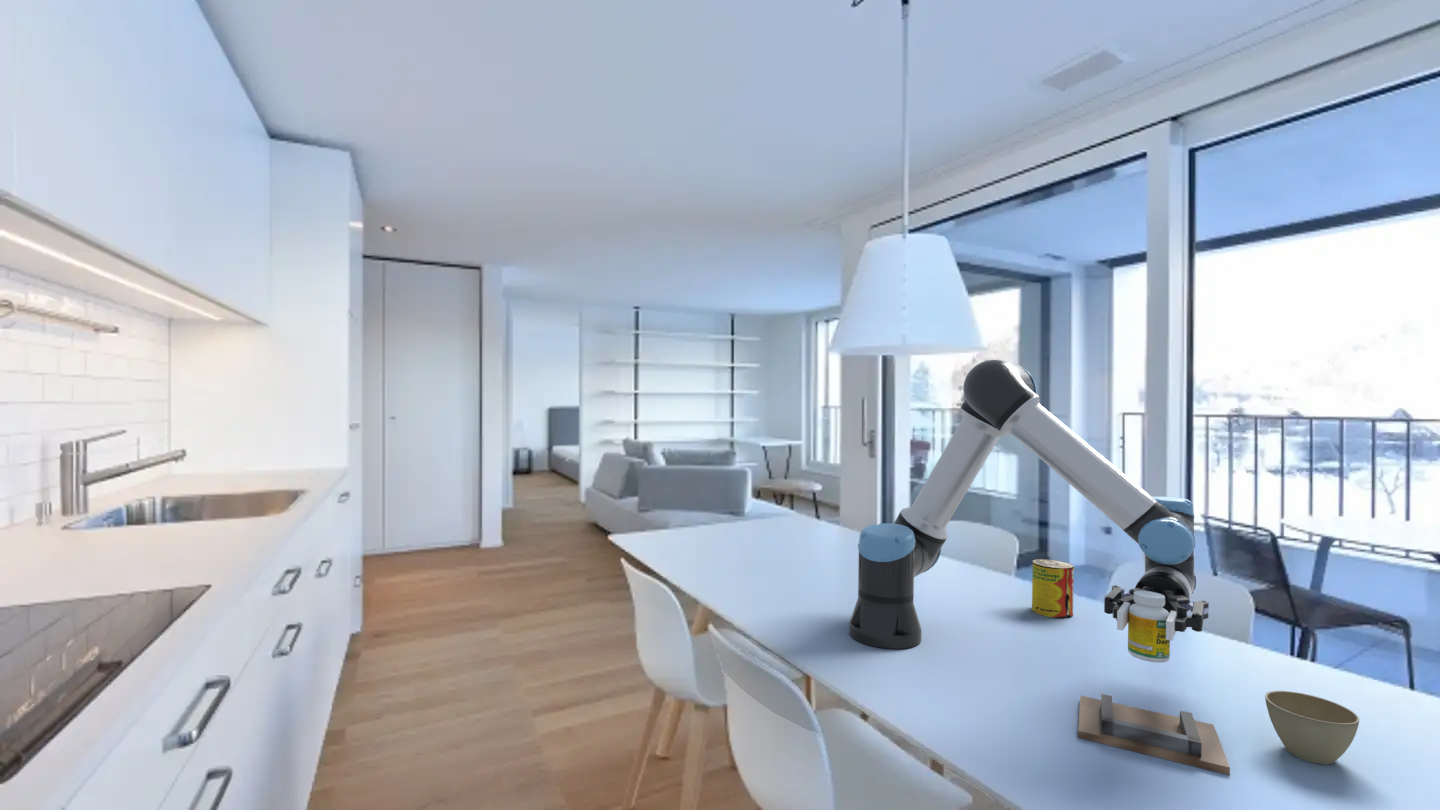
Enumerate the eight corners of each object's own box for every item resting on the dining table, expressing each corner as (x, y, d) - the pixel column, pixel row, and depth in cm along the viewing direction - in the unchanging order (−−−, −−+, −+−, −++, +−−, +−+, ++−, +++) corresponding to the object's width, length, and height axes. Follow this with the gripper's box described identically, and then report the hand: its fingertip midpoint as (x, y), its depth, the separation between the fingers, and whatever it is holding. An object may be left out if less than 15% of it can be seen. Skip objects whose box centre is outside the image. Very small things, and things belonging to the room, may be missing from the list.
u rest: (1078, 737, 95) (1078, 717, 95) (1080, 701, 107) (1080, 683, 107) (1229, 774, 86) (1230, 752, 86) (1213, 730, 98) (1213, 711, 98)
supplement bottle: (1137, 647, 101) (1138, 587, 101) (1176, 658, 96) (1177, 595, 96) (1121, 654, 98) (1122, 592, 98) (1160, 666, 93) (1161, 601, 93)
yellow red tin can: (1050, 619, 150) (1051, 568, 150) (1023, 607, 159) (1024, 559, 159) (1081, 617, 152) (1082, 567, 152) (1053, 605, 161) (1054, 558, 161)
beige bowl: (1246, 738, 96) (1247, 691, 96) (1306, 736, 97) (1307, 689, 97) (1313, 776, 86) (1314, 723, 86) (1379, 774, 87) (1380, 722, 87)
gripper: (1229, 626, 104) (1223, 669, 87) (1102, 602, 116) (1073, 635, 99) (1230, 581, 105) (1224, 614, 87) (1102, 562, 116) (1074, 587, 99)
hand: (1144, 625), depth 93 cm, fingers closed on supplement bottle, 5 cm apart
